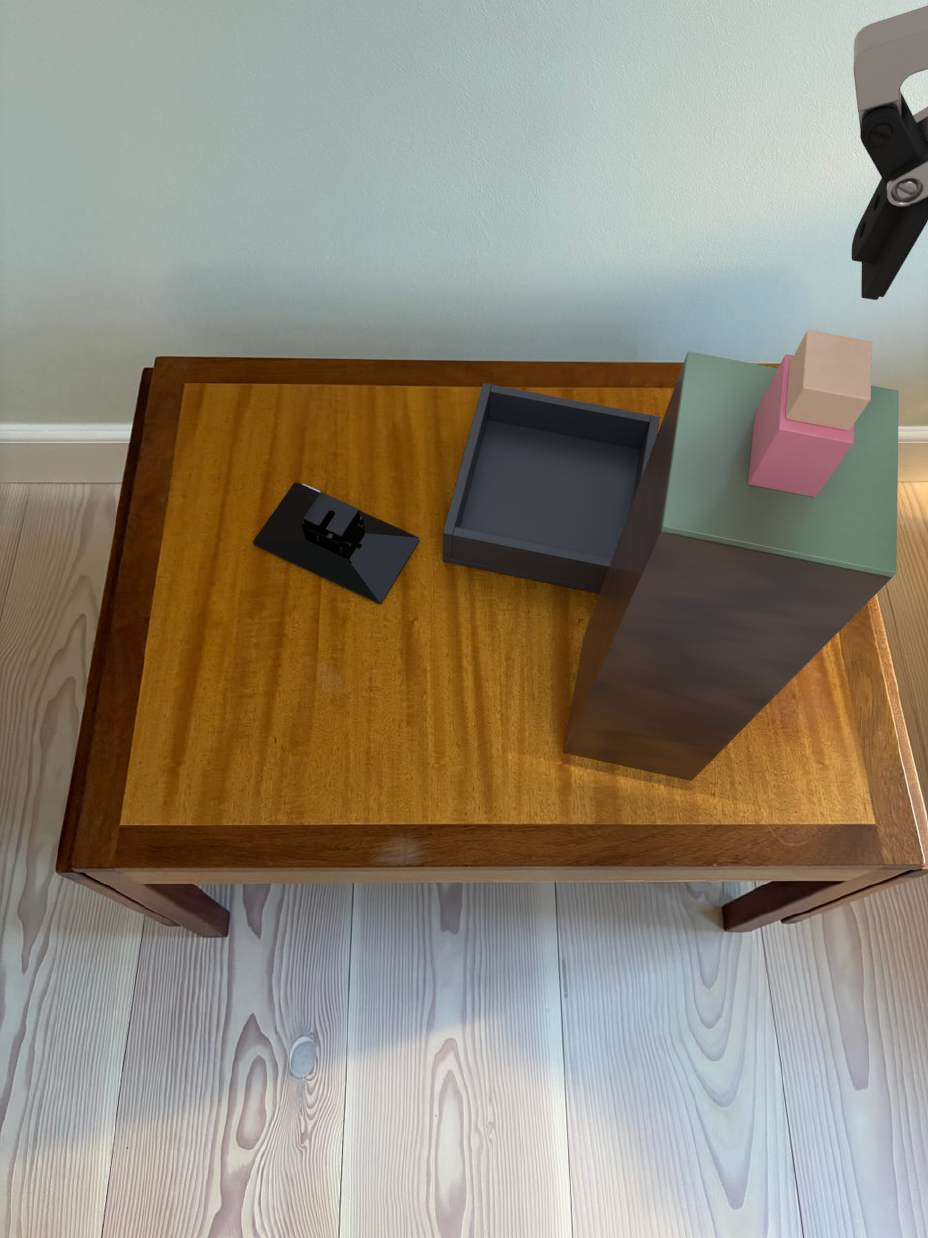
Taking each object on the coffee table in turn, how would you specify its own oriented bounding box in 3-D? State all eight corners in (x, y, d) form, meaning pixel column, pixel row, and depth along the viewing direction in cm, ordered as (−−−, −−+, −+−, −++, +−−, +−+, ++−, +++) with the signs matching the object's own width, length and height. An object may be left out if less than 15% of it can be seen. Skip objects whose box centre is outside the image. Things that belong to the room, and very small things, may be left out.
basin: (648, 449, 81) (660, 416, 77) (624, 599, 75) (636, 572, 70) (480, 417, 82) (482, 382, 78) (442, 561, 76) (442, 532, 71)
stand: (705, 662, 72) (899, 389, 42) (691, 781, 68) (897, 573, 38) (583, 637, 73) (687, 350, 43) (563, 753, 69) (662, 526, 38)
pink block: (819, 426, 41) (878, 332, 35) (815, 498, 39) (876, 411, 34) (754, 413, 41) (802, 318, 36) (747, 484, 39) (797, 396, 34)
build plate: (252, 545, 76) (241, 516, 72) (297, 481, 79) (289, 450, 75) (380, 605, 74) (376, 578, 69) (422, 537, 77) (420, 507, 72)
